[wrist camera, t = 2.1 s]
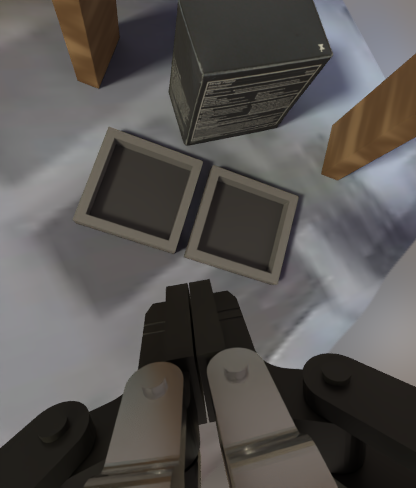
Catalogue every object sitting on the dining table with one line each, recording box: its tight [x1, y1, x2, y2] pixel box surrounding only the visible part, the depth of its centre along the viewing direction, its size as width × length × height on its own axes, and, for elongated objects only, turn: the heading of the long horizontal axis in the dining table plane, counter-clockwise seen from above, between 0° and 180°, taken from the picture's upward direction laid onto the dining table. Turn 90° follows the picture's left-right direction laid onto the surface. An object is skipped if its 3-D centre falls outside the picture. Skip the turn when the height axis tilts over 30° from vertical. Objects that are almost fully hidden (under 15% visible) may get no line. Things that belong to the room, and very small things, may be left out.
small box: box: [169, 0, 333, 146], centre depth 27 cm, size 11×6×10 cm, turn 107°
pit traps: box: [73, 127, 299, 285], centre depth 29 cm, size 19×9×2 cm, turn 73°
